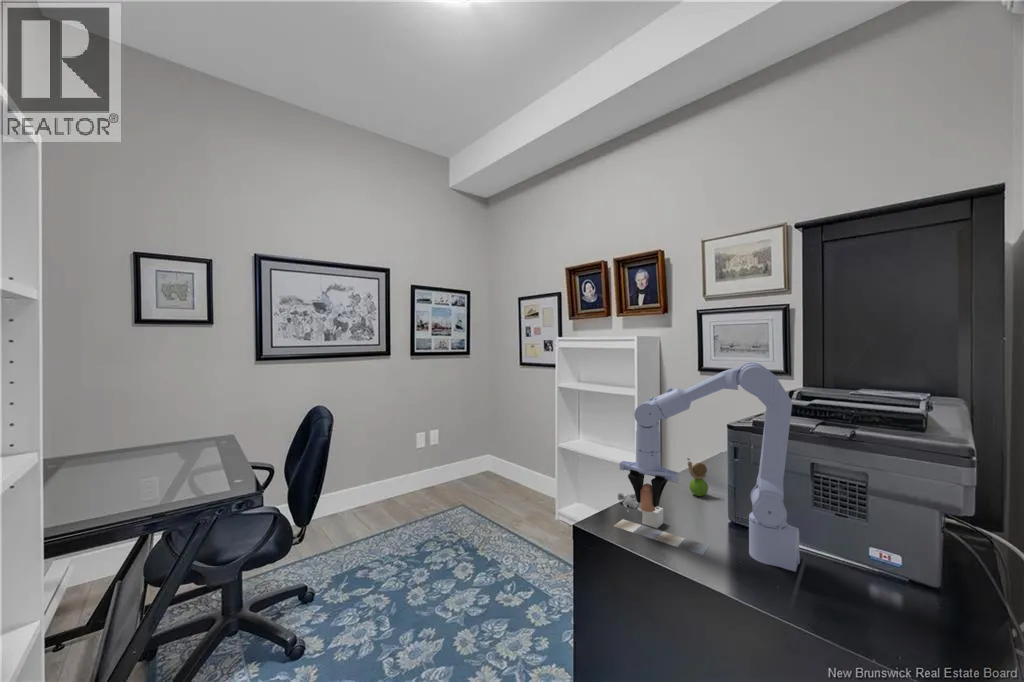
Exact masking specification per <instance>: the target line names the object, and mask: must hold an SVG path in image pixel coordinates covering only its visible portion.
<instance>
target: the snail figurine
mask: <svg viewBox="0 0 1024 682" xmlns="http://www.w3.org/2000/svg"><path fill="white" fill-rule="evenodd" d="M690 460H691V458H689V457H687V467H688V470H689V471H688V472H689V474H690V476H691V477H692V478H693V479H692V480H691V481H690V483H689V491H690V492H691V493H692V494H694V495H695V496H698V497H704V496H706V495H707V494H708V491H709V485H708V483H707V481H706V480H705V479H706V477H707V472H708V468H707V466H706V465H705V464H704V463H703V462H696V463H695V464H694V465H693V463H692V461H690Z"/></svg>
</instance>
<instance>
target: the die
mask: <svg viewBox="0 0 1024 682" xmlns="http://www.w3.org/2000/svg"><path fill="white" fill-rule="evenodd" d="M641 513H642V516H641V518H642V519H641V520H642V521H641V522H642V524H641V525H644V526H647V527H650V528H653V529H659V528H660V527H661V526H662V525H663V524H664V508H663V507H660V506H657V507H655V511H653V512H647V511H643V510H642V512H641Z"/></svg>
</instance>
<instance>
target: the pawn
mask: <svg viewBox="0 0 1024 682" xmlns="http://www.w3.org/2000/svg"><path fill="white" fill-rule="evenodd" d="M640 509H641V510H643V511H647V512H653V511H655V507H653V489H652V483H643V486H642V488H641V489H640Z"/></svg>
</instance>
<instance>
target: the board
mask: <svg viewBox="0 0 1024 682" xmlns="http://www.w3.org/2000/svg"><path fill="white" fill-rule="evenodd" d="M613 527H614V528H618V529H621V530H624V531H627V532H630V533H633V534H636V535H640V536H642V537H645V538H648V539H651V540H655V541H658V542H661V543H664V544H667V545H670V546H672V547H676V548H679V549H682V550H686V551H688V552H692V553H695V554H698V555H701V556H703V555H704V553H705V552H706V551H707V550H708V548H709V547H710V545H708V544H704V543H702V542H698V541H695V540H691V539H688V538H685V537H683V536H679V535H676V534H672V533H669V532H667V531H662V530H659V529H657V528H654V527H651V526H648V525H644V524H640V523H637V522H634V521H630V520H626V519H623V518H622V519H621V520H620V521H618V522H617V523H615V524H614V525H613Z"/></svg>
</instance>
